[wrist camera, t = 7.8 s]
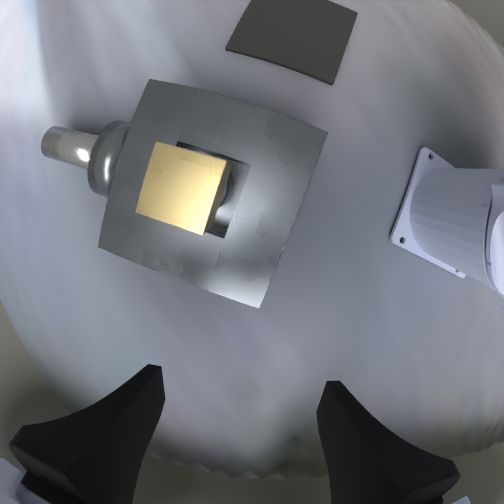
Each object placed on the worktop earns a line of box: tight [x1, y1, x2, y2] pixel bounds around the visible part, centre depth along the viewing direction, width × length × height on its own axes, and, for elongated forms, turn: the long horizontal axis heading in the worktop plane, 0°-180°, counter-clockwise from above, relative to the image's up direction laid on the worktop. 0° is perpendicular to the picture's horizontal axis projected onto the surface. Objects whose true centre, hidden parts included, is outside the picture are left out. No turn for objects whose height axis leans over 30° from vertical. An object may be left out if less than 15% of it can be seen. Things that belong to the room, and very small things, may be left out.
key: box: [136, 142, 234, 235], centre depth 13 cm, size 3×3×7 cm
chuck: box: [41, 79, 328, 308], centre depth 16 cm, size 18×10×5 cm, turn 70°
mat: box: [225, 0, 358, 85], centre depth 15 cm, size 8×8×1 cm
